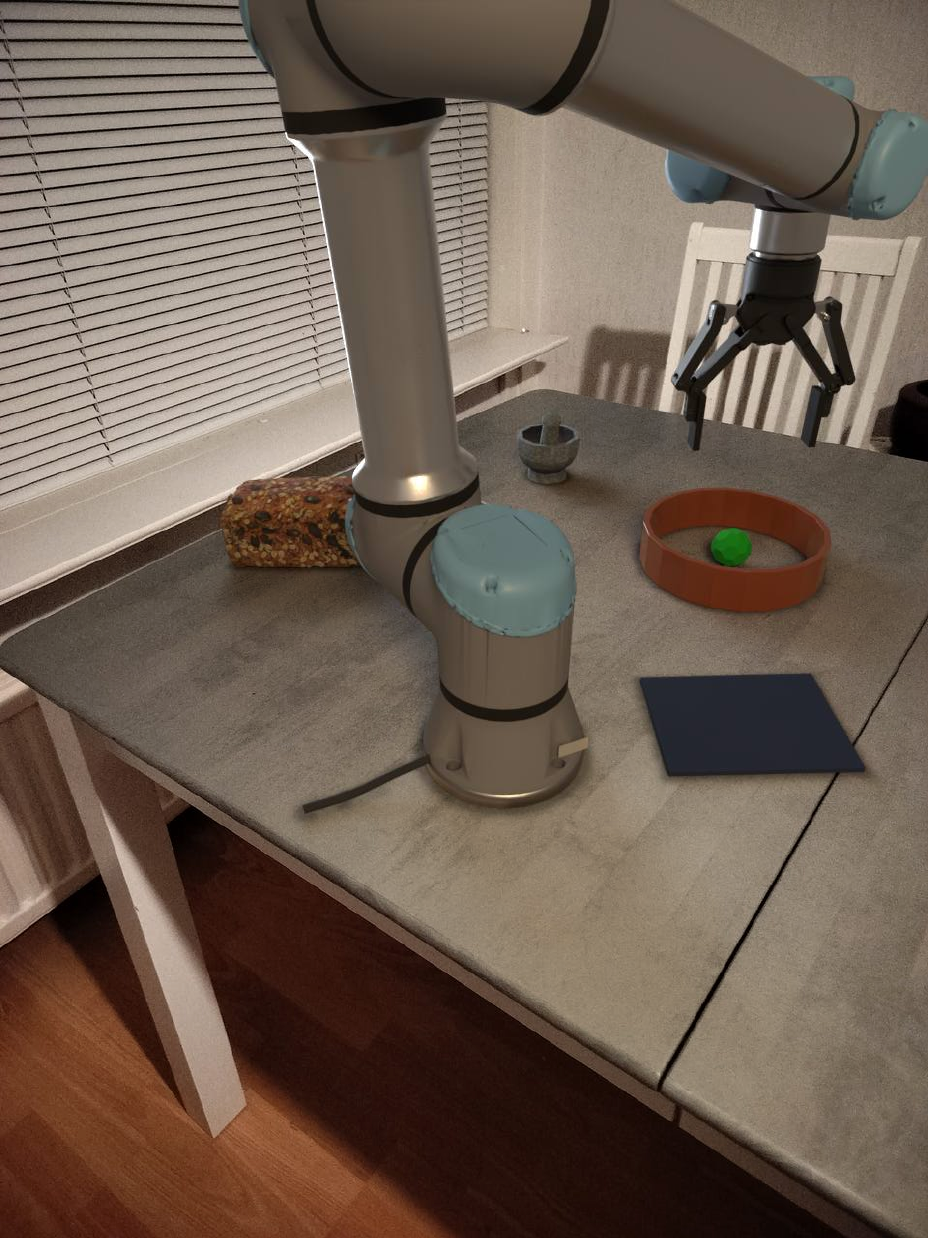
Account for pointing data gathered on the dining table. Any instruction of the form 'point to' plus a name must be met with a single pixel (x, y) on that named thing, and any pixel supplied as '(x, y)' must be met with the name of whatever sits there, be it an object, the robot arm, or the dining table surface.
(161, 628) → the dining table surface
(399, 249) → the robot arm
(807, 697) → the mat
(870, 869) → the dining table surface
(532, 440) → the mortar and pestle
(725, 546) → the polyhedron
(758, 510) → the orange bottomless ring
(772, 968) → the dining table surface
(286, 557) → the bread
